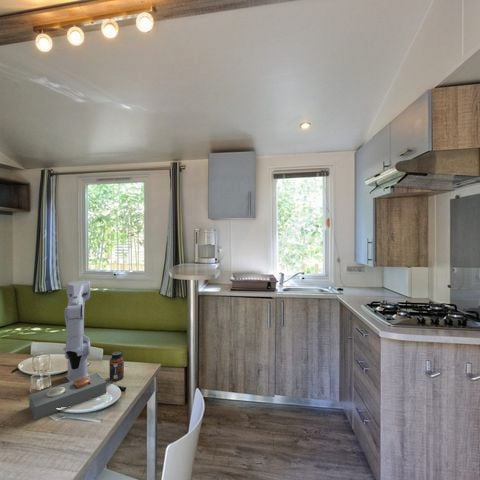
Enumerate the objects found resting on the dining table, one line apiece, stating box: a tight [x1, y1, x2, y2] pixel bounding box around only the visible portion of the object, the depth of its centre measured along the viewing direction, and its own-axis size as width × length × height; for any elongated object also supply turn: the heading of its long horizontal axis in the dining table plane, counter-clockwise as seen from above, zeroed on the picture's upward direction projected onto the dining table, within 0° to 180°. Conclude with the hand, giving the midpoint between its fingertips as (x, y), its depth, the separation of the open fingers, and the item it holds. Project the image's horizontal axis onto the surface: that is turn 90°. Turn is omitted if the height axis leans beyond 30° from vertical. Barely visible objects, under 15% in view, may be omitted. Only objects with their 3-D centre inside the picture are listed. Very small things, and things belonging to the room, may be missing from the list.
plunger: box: [46, 387, 65, 398], centre depth 110 cm, size 6×6×4 cm
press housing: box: [28, 372, 107, 421], centre depth 113 cm, size 24×11×4 cm, turn 135°
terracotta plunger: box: [73, 377, 90, 389], centre depth 116 cm, size 6×6×4 cm
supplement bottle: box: [109, 351, 125, 382], centre depth 130 cm, size 6×6×11 cm
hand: (75, 368), depth 117 cm, fingers closed
